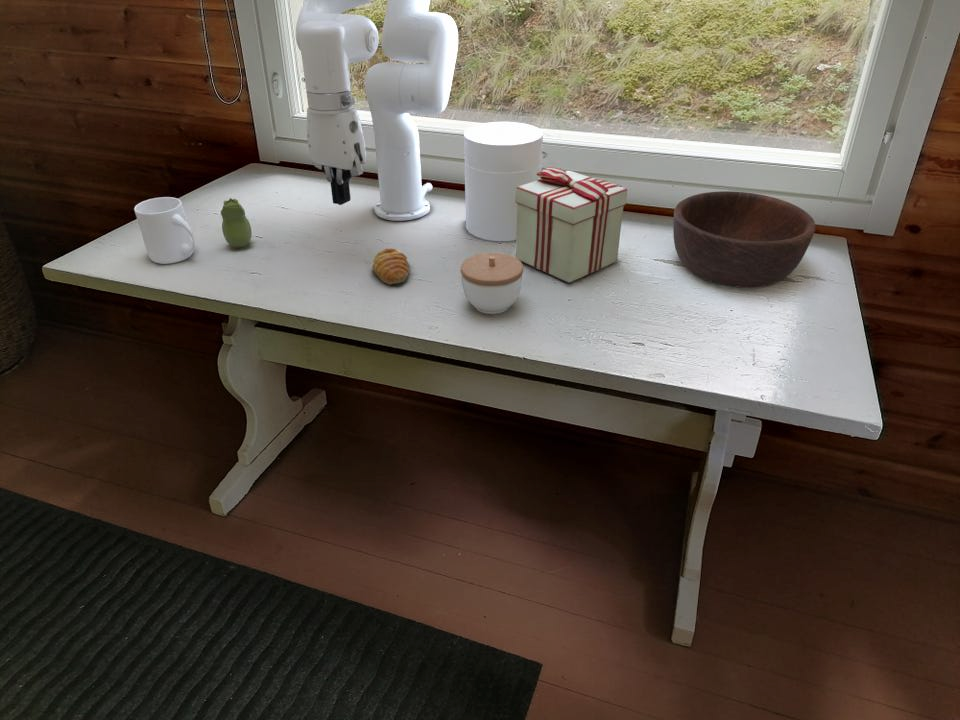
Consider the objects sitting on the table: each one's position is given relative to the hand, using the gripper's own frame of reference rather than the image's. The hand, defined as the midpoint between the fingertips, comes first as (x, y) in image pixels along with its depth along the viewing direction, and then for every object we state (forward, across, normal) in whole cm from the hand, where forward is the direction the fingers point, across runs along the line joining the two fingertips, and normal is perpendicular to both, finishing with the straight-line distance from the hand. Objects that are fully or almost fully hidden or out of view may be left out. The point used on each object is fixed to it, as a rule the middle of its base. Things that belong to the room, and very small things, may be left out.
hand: (342, 201), depth 130 cm
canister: (+12, -17, -31) cm, 37 cm away
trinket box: (+13, -33, 0) cm, 35 cm away
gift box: (+12, -36, -24) cm, 45 cm away
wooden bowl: (+12, -65, -37) cm, 76 cm away
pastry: (+13, -10, -1) cm, 16 cm away
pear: (+13, +25, +5) cm, 28 cm away
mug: (+13, +32, +15) cm, 37 cm away
